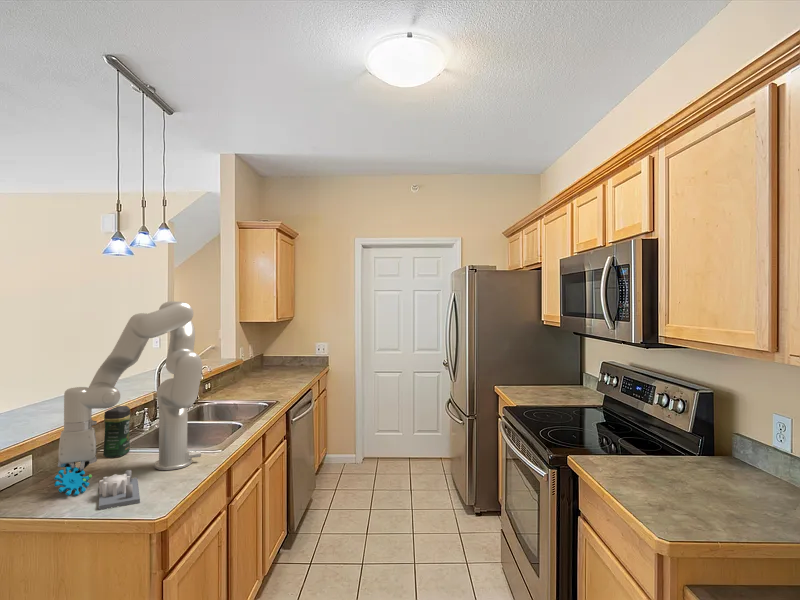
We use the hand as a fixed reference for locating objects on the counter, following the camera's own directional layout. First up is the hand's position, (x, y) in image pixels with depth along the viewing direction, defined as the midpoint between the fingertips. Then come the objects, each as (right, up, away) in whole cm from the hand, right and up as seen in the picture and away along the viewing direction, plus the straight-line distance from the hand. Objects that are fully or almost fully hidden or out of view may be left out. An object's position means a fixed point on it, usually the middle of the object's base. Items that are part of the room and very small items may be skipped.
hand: (77, 482), depth 160 cm
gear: (+2, -2, -5) cm, 6 cm away
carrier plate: (+17, -2, -6) cm, 18 cm away
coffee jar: (-6, -2, +33) cm, 33 cm away
